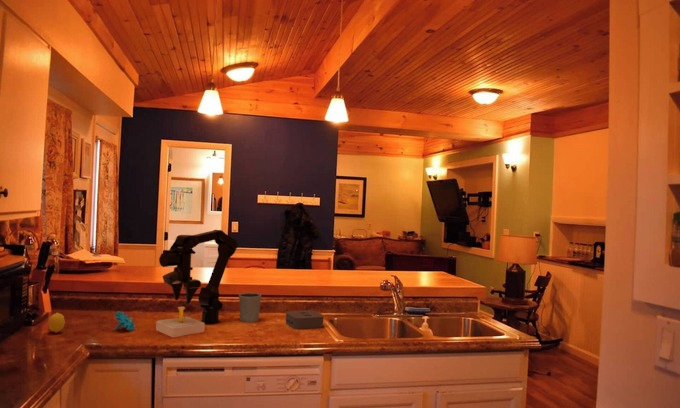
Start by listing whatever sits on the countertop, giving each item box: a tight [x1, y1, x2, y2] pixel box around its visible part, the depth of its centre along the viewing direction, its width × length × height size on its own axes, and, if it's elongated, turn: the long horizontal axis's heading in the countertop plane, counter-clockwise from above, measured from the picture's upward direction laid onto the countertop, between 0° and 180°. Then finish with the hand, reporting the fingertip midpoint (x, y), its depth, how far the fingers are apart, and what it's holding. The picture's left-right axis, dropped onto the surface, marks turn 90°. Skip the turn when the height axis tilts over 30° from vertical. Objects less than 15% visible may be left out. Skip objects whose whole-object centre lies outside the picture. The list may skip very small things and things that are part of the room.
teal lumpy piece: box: [114, 310, 136, 332], centre depth 197 cm, size 11×6×10 cm
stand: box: [155, 316, 206, 338], centre depth 199 cm, size 14×14×4 cm
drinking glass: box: [238, 292, 262, 324], centre depth 223 cm, size 10×10×12 cm
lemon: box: [47, 312, 66, 334], centre depth 188 cm, size 6×6×8 cm
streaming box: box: [285, 309, 324, 330], centre depth 219 cm, size 14×14×5 cm
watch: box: [177, 306, 186, 322], centre depth 199 cm, size 6×3×6 cm, turn 22°
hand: (182, 301), depth 202 cm, fingers open, 9 cm apart
